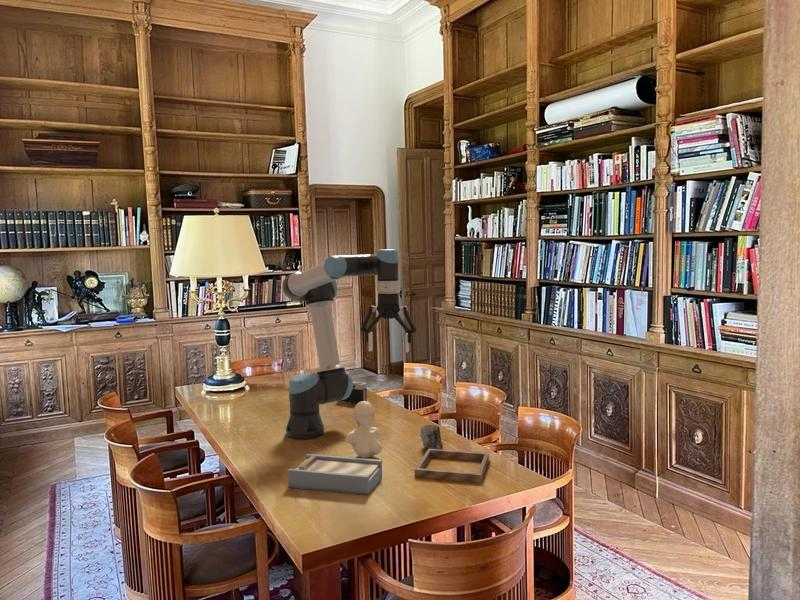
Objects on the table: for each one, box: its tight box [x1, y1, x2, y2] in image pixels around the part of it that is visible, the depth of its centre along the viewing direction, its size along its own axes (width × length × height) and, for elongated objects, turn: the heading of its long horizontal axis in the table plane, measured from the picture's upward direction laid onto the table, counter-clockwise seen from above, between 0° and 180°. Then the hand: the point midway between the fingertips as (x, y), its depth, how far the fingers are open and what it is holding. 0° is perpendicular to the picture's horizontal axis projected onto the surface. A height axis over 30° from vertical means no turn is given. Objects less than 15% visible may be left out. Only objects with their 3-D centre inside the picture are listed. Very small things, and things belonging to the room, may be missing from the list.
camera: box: [340, 381, 368, 404], centre depth 295 cm, size 14×8×10 cm, turn 58°
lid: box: [295, 456, 378, 478], centre depth 196 cm, size 25×12×2 cm, turn 75°
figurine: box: [345, 400, 383, 459], centre depth 218 cm, size 14×9×20 cm
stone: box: [420, 424, 444, 450], centre depth 227 cm, size 10×10×10 cm
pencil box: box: [287, 453, 383, 496], centre depth 196 cm, size 26×15×6 cm, turn 75°
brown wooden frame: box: [414, 448, 490, 484], centre depth 207 cm, size 21×20×2 cm
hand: (388, 351), depth 223 cm, fingers open, 13 cm apart
